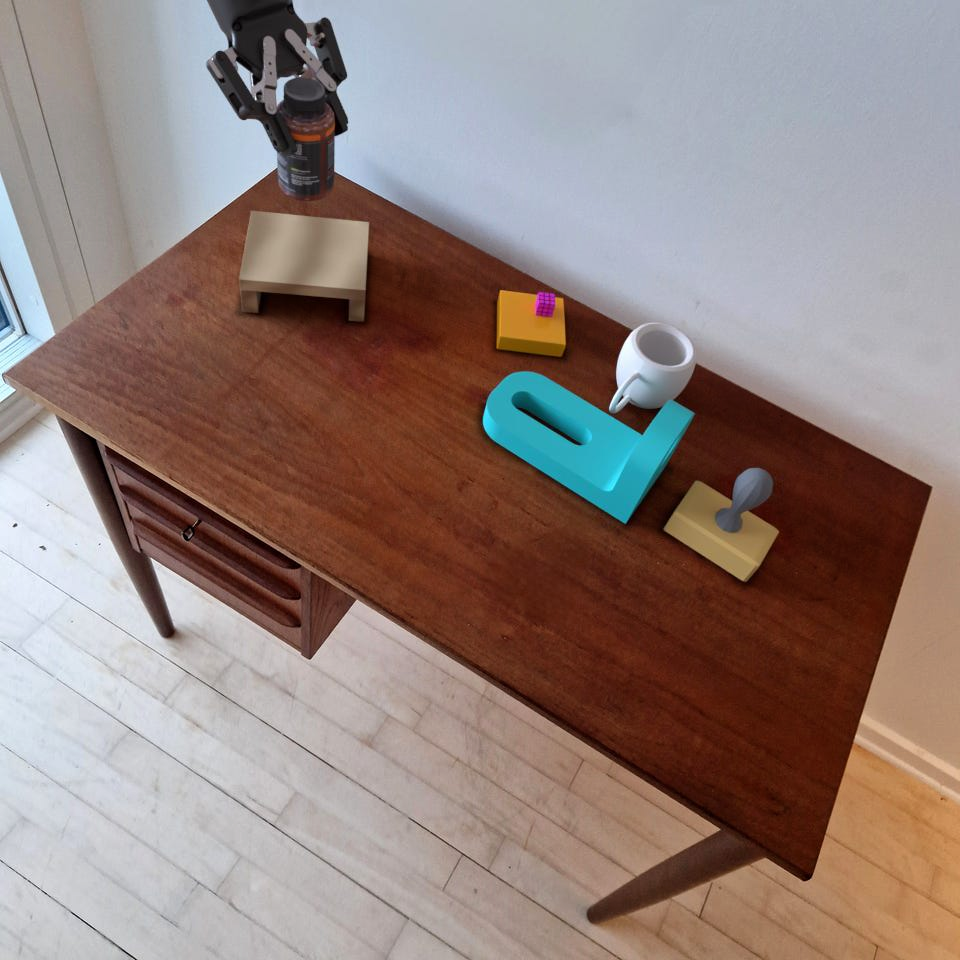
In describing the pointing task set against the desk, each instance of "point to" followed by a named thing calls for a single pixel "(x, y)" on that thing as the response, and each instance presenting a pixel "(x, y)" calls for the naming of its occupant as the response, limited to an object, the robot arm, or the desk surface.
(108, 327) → the desk surface
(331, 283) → the stand
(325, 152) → the supplement bottle
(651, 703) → the desk surface
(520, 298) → the orange block
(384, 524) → the desk surface
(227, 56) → the robot arm
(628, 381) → the mug
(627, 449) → the bracket
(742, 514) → the rubber stamp
